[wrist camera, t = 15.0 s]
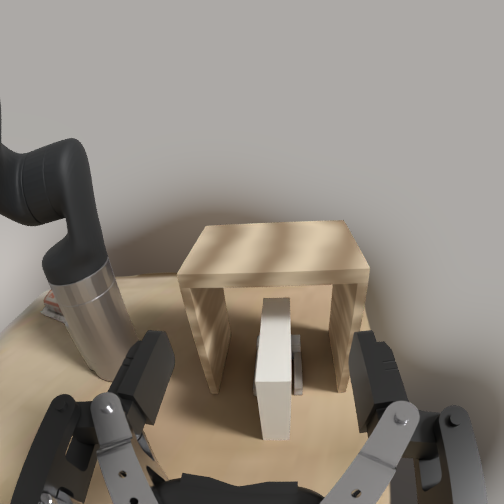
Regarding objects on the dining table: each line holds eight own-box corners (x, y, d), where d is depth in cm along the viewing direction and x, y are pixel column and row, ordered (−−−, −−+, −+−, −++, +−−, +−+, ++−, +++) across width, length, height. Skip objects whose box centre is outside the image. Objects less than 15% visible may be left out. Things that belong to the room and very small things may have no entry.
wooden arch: (210, 393, 34) (176, 274, 26) (224, 334, 45) (206, 226, 36) (345, 392, 32) (369, 268, 24) (334, 331, 43) (343, 220, 34)
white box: (263, 440, 27) (255, 381, 22) (268, 366, 38) (263, 298, 33) (289, 439, 27) (291, 381, 22) (289, 365, 38) (289, 297, 32)
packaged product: (108, 285, 52) (78, 313, 44) (116, 304, 55) (87, 333, 46) (60, 276, 57) (33, 298, 49) (67, 293, 59) (41, 315, 51)
